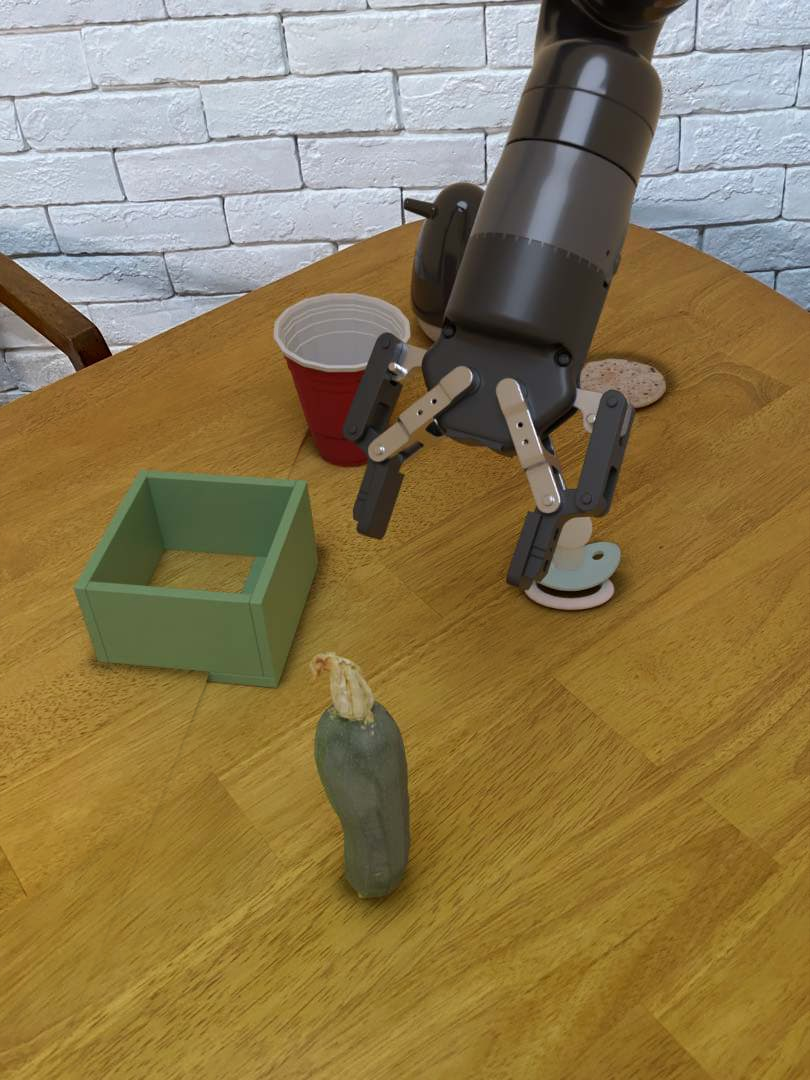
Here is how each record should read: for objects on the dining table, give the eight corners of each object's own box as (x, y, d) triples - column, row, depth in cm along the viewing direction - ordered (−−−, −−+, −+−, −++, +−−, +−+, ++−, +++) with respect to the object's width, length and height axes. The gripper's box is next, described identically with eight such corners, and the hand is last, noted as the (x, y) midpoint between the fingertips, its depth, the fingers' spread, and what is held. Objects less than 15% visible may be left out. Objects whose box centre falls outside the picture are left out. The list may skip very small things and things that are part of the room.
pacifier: (621, 616, 80) (616, 557, 84) (628, 552, 75) (623, 494, 80) (516, 614, 80) (517, 555, 85) (518, 550, 76) (518, 492, 80)
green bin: (101, 671, 78) (72, 588, 73) (160, 551, 87) (139, 469, 82) (277, 688, 76) (261, 603, 71) (319, 563, 85) (307, 480, 80)
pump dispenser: (405, 314, 113) (396, 166, 103) (508, 304, 113) (509, 156, 103) (416, 369, 105) (407, 215, 95) (526, 357, 106) (529, 203, 96)
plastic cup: (372, 502, 91) (361, 375, 83) (265, 464, 95) (244, 340, 87) (440, 432, 97) (436, 308, 89) (337, 399, 102) (324, 279, 94)
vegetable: (429, 882, 64) (413, 638, 51) (397, 947, 61) (371, 706, 48) (360, 856, 66) (326, 612, 53) (325, 918, 63) (281, 677, 50)
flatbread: (682, 385, 101) (683, 375, 100) (632, 423, 97) (633, 413, 96) (607, 354, 105) (607, 345, 104) (556, 389, 101) (557, 380, 100)
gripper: (389, 204, 56) (289, 512, 57) (663, 257, 51) (550, 600, 51) (443, 256, 63) (353, 530, 63) (689, 308, 58) (589, 610, 58)
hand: (441, 561), depth 57 cm, fingers open, 8 cm apart
